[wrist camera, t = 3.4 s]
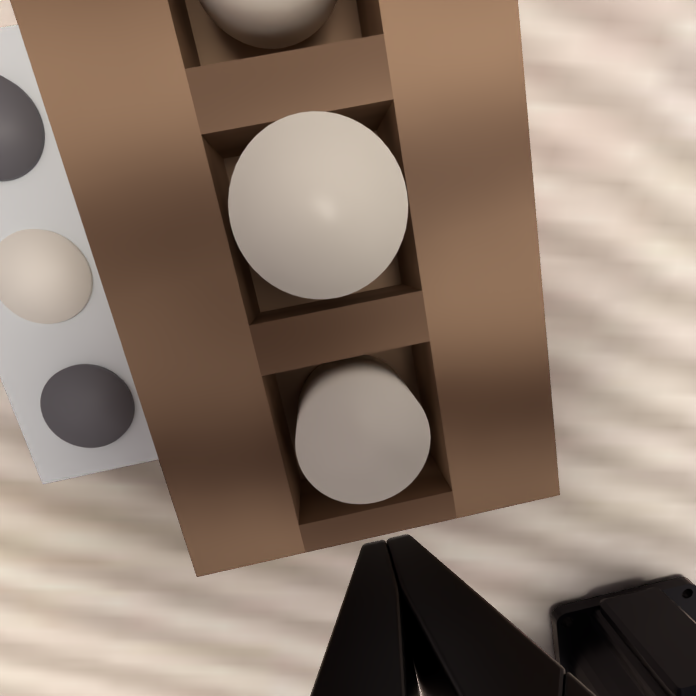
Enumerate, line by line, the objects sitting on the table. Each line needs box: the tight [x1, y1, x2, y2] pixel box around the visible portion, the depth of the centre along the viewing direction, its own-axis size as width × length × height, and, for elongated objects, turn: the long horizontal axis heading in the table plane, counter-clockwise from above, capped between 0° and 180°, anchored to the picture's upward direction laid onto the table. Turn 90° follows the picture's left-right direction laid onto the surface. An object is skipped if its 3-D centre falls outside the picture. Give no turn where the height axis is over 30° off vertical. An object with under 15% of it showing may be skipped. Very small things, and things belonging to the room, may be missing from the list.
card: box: [0, 25, 159, 484], centre depth 14 cm, size 14×5×1 cm, turn 11°
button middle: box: [228, 111, 408, 299], centre depth 11 cm, size 4×4×3 cm
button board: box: [10, 0, 560, 577], centre depth 13 cm, size 20×12×3 cm, turn 11°
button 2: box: [295, 355, 431, 504], centre depth 14 cm, size 4×4×3 cm
